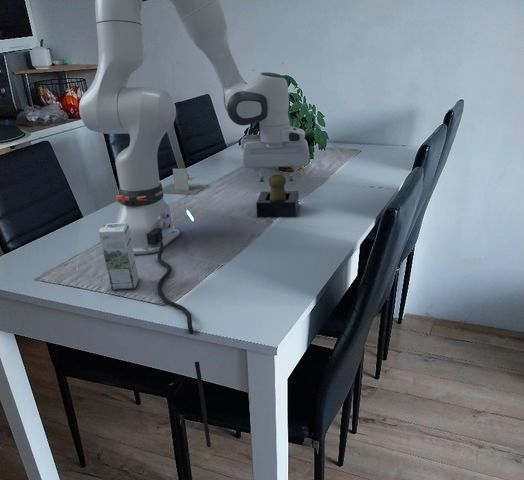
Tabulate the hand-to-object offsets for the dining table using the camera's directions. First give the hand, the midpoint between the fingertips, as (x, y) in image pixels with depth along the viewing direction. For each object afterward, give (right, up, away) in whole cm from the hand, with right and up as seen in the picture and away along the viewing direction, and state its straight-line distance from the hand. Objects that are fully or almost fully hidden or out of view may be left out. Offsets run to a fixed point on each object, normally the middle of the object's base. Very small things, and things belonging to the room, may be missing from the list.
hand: (277, 181), depth 167 cm
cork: (+1, -8, +4) cm, 9 cm away
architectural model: (-34, +7, +32) cm, 47 cm away
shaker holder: (+1, -8, +4) cm, 9 cm away
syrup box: (-37, -37, -38) cm, 65 cm away
